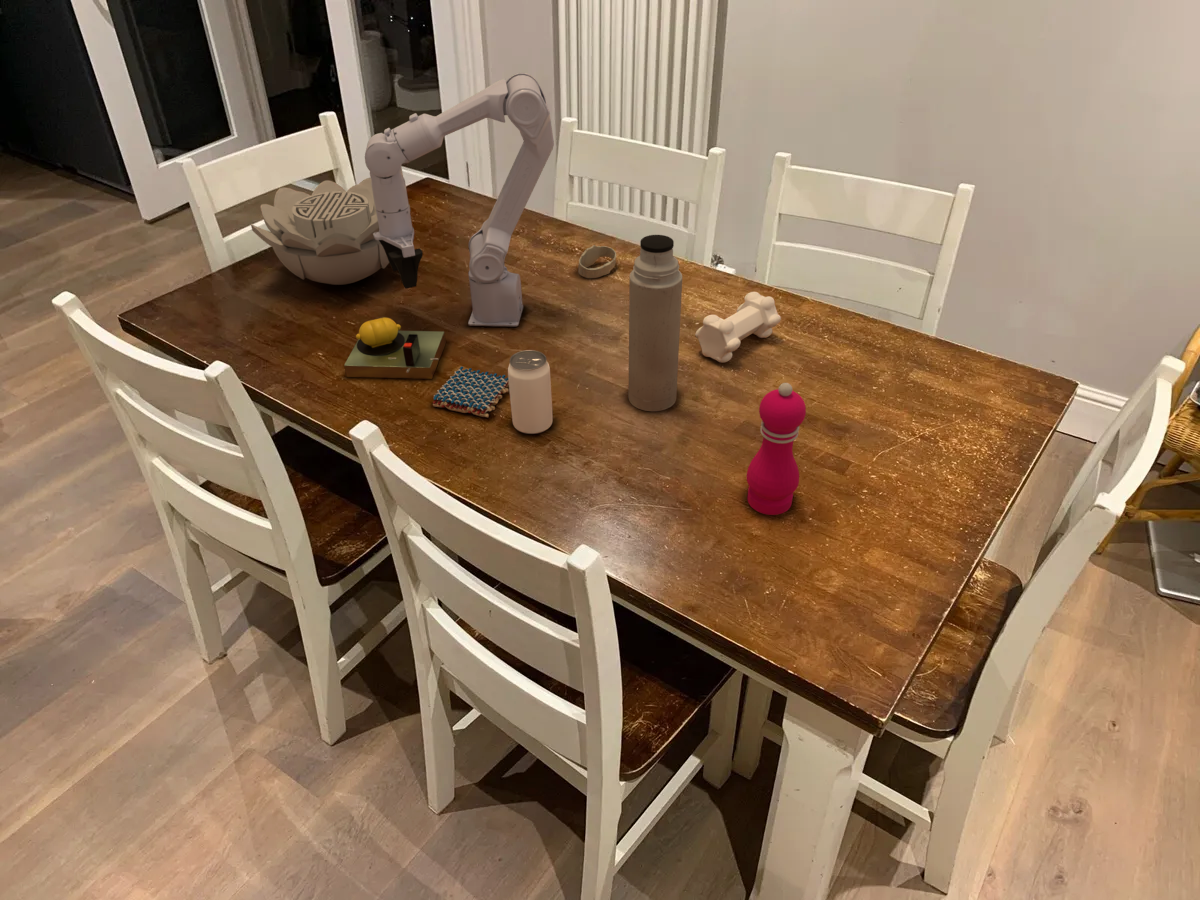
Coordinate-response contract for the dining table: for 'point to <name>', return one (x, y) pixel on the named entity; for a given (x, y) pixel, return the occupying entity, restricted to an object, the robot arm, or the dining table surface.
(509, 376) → the can
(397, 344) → the burner
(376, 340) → the lemon
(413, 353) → the black block
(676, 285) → the thermos bottle
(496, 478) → the dining table surface
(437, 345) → the hob
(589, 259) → the grey oval ring
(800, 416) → the pepper mill
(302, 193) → the decorative bowl
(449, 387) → the woven mat
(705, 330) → the bone shaped toy
